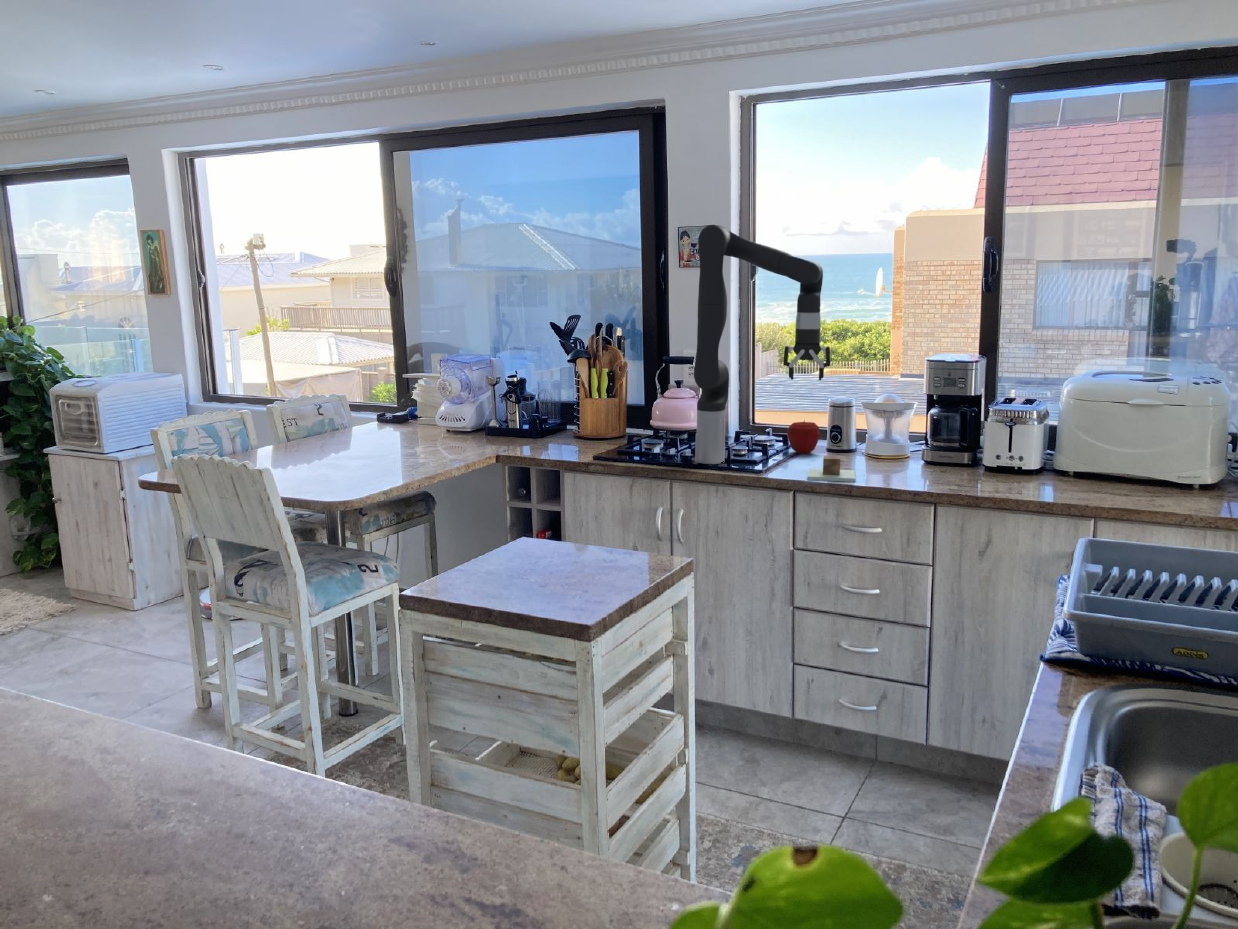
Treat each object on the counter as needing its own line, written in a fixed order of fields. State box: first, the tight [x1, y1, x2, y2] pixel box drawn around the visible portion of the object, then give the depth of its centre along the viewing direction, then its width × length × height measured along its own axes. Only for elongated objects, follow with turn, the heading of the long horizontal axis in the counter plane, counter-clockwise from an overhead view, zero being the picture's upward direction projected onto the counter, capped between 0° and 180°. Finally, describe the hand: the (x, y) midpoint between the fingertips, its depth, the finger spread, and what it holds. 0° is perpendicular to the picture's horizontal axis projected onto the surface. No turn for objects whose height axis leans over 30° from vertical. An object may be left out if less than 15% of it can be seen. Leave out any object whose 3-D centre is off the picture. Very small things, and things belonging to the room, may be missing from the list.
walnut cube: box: [822, 455, 841, 475], centre depth 296 cm, size 5×5×5 cm
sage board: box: [807, 468, 857, 483], centre depth 296 cm, size 14×12×1 cm
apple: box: [786, 419, 821, 455], centre depth 332 cm, size 11×11×12 cm
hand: (806, 379), depth 303 cm, fingers open, 8 cm apart
